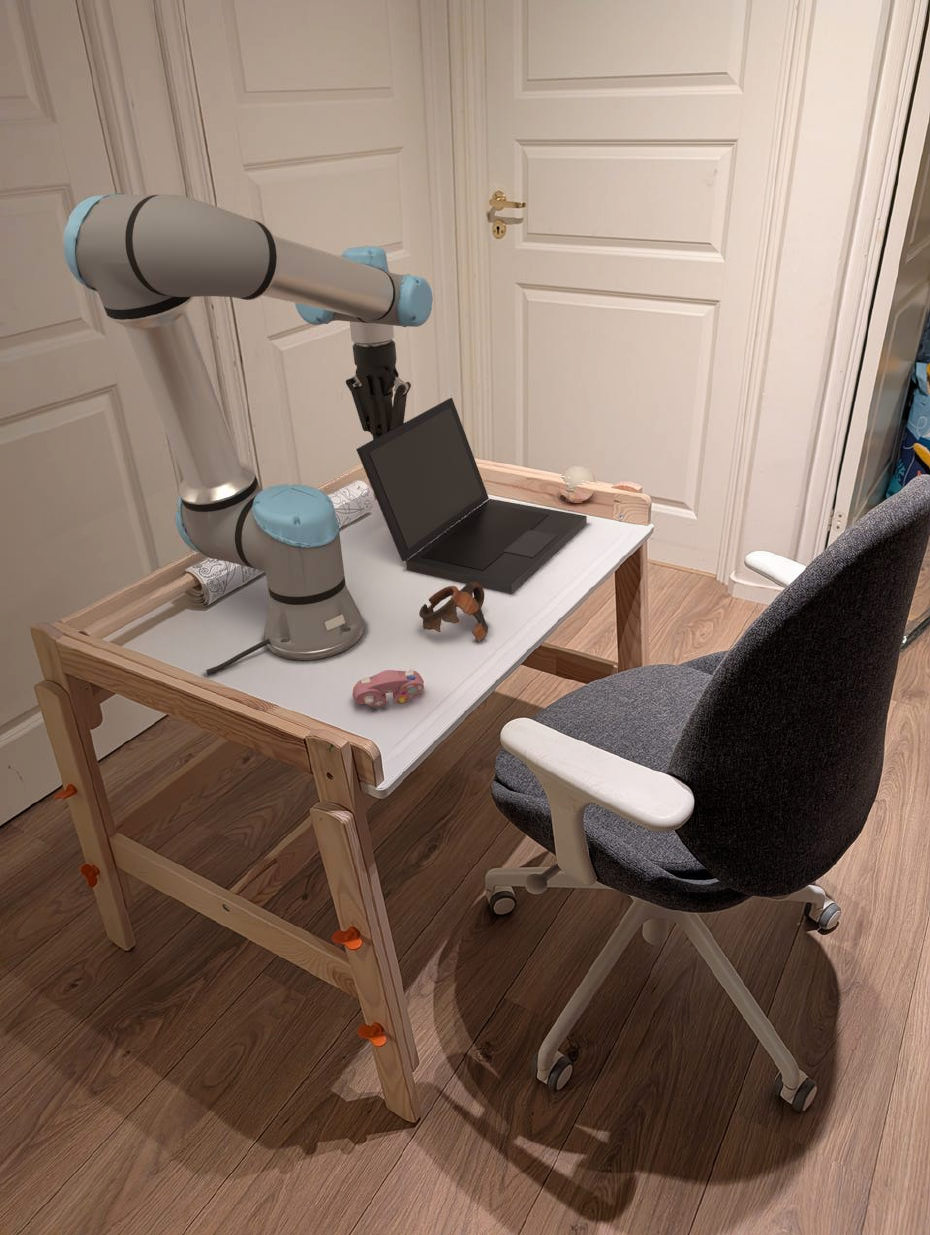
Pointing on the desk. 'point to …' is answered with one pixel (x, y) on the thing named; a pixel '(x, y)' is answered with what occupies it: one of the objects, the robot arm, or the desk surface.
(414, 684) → the video game controller
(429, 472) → the laptop screen
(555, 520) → the laptop
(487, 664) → the desk surface
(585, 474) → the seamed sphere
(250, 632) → the desk surface
